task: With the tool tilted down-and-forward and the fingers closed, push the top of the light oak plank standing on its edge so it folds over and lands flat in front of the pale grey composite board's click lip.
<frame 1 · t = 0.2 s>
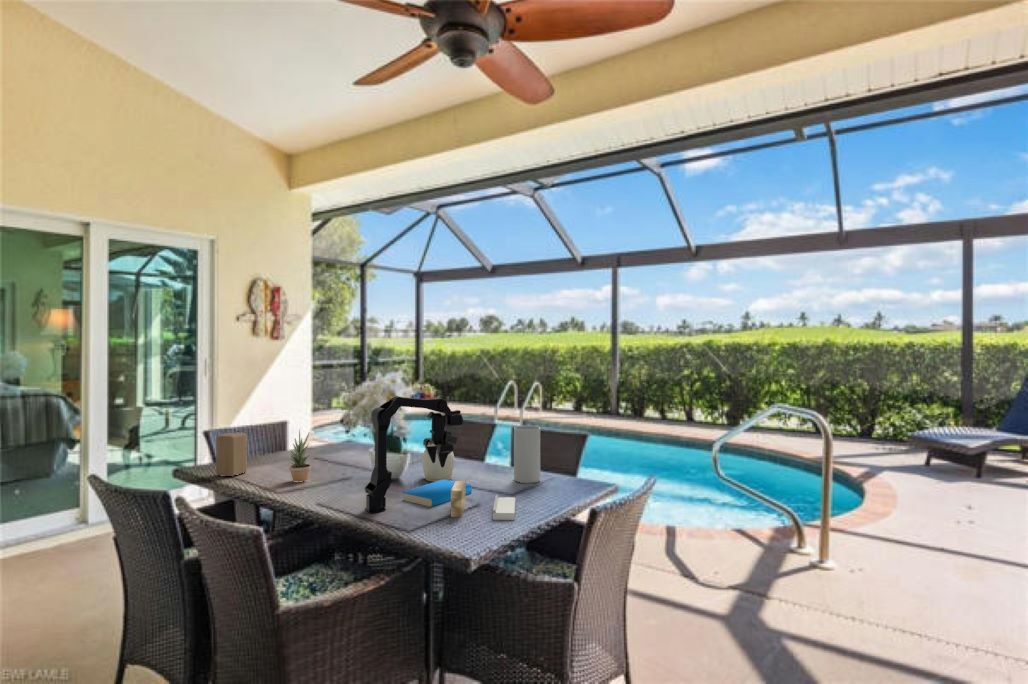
hand: (437, 465, 230), 14 cm above the table, tool pointing down, fingers open, 9 cm apart
oak plank: (458, 511, 214), on the table
jug: (438, 479, 263), on the table
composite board: (504, 511, 214), on the table
book: (437, 497, 234), on the table
cylinder vase: (526, 480, 261), on the table
wooden block: (231, 475, 270), on the table
potted plant: (299, 481, 258), on the table
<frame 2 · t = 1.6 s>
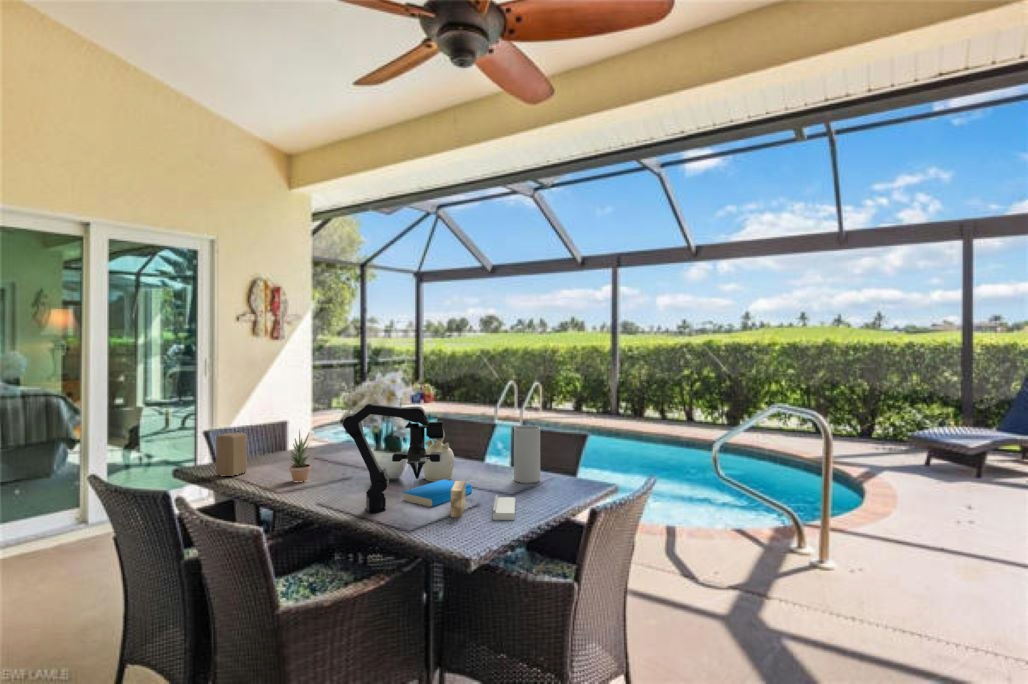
hand: (417, 478, 216), 12 cm above the table, tool pointing down, fingers closed
nothing on the table moved.
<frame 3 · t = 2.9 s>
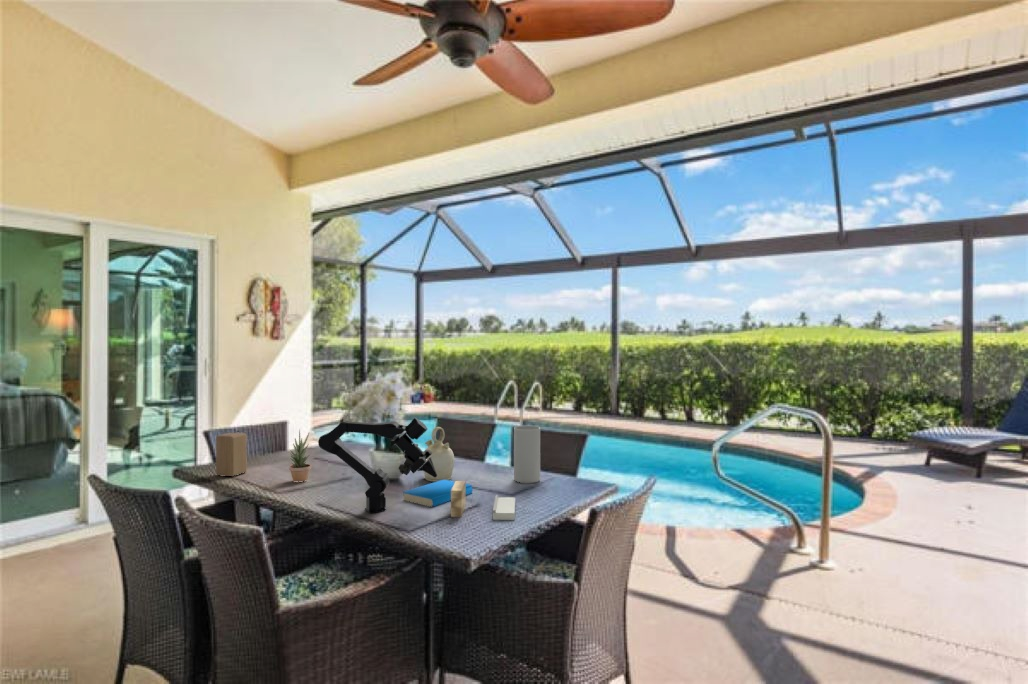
hand: (436, 476, 214), 13 cm above the table, tool tilted 45°, fingers closed
nothing on the table moved.
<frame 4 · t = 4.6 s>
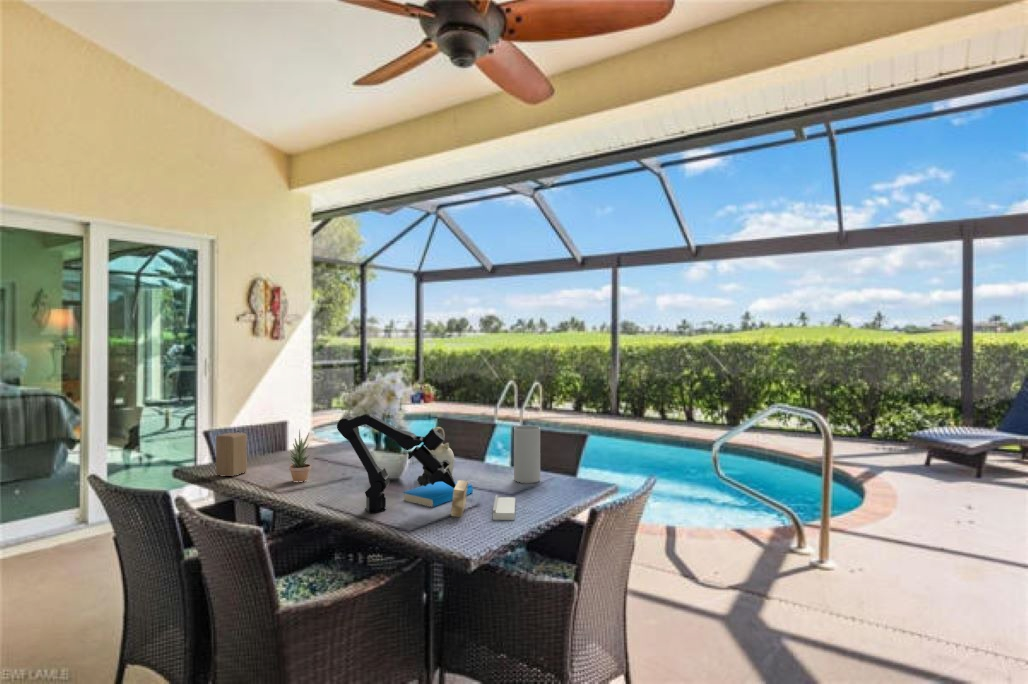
hand: (455, 487, 214), 9 cm above the table, tool tilted 45°, fingers closed
oak plank: (458, 510, 214), on the table, tilted 6°
everything else where it was.
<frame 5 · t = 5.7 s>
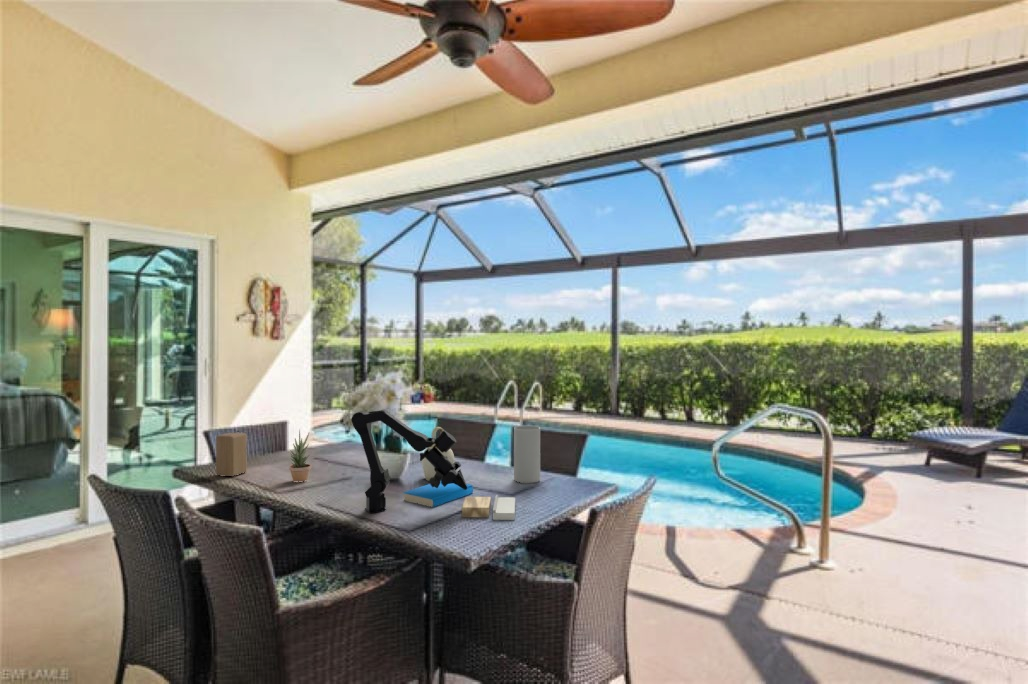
hand: (466, 488, 214), 9 cm above the table, tool tilted 45°, fingers closed
oak plank: (464, 507, 214), point 2 cm above the table, tilted 90°
everything else where it was.
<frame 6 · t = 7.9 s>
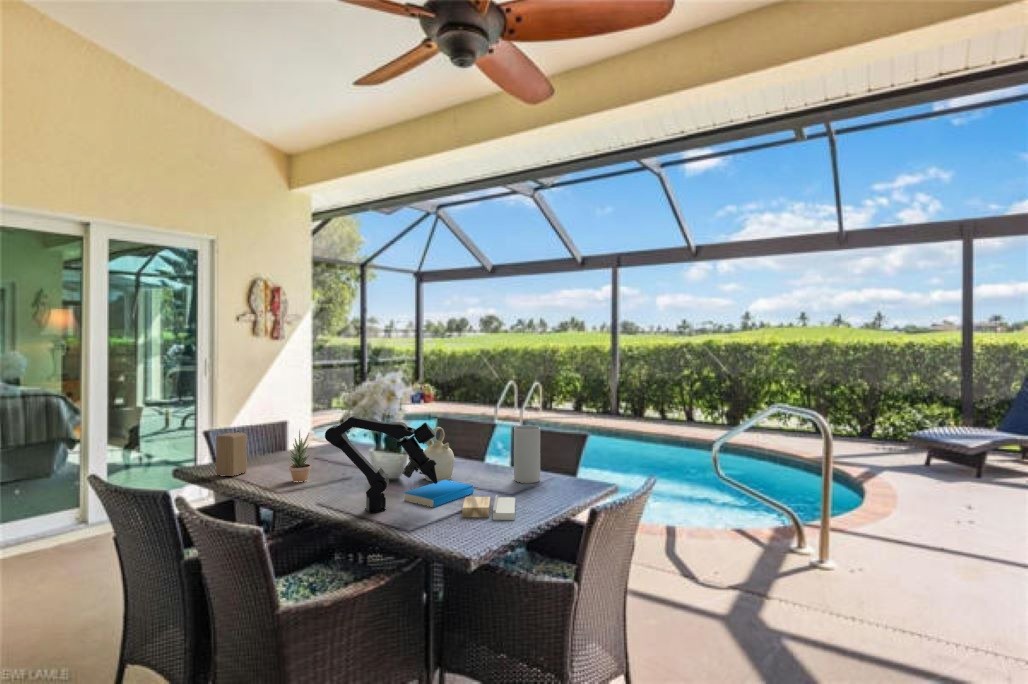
hand: (436, 483, 216), 10 cm above the table, tool tilted 35°, fingers closed
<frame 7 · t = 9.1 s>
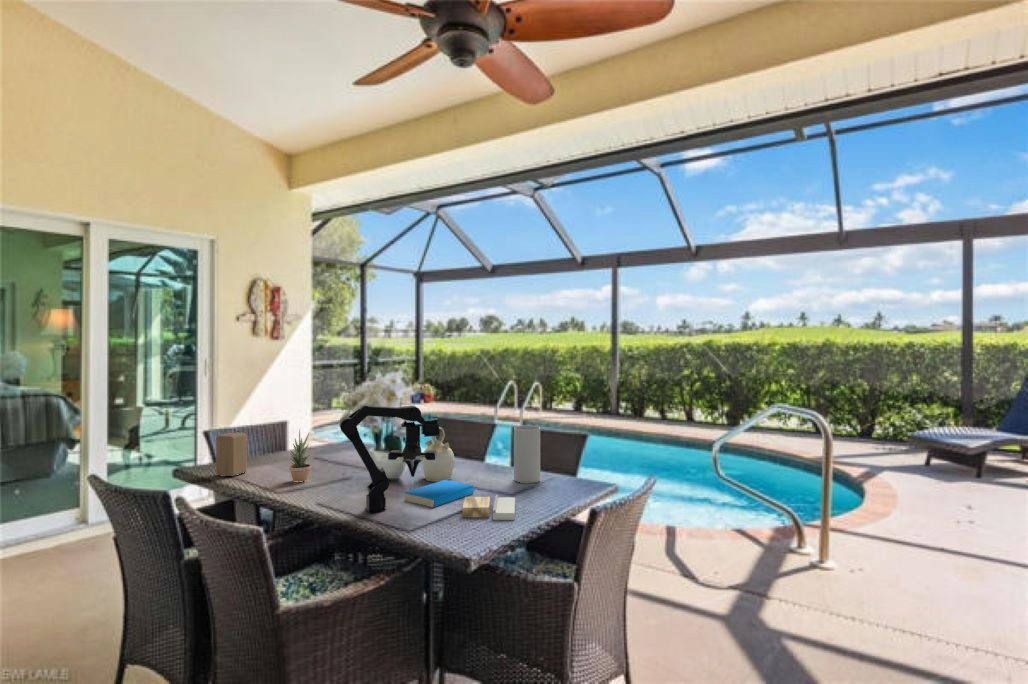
hand: (412, 476, 219), 12 cm above the table, tool pointing down, fingers closed
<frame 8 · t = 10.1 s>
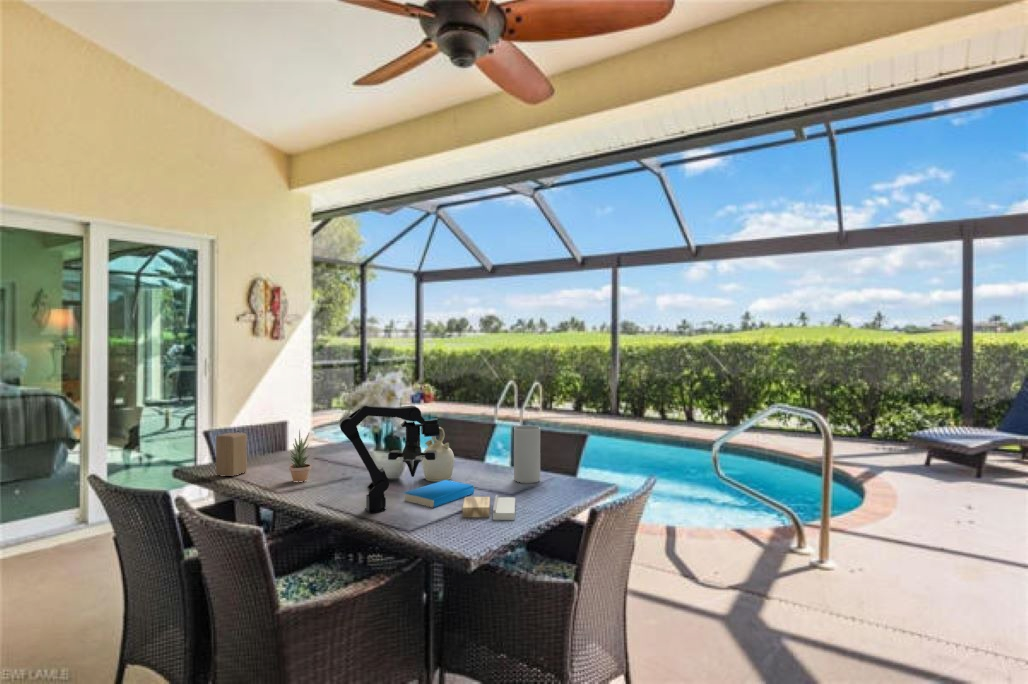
hand: (412, 476, 219), 12 cm above the table, tool pointing down, fingers closed
at the end: oak plank tilted 90°; oak plank inside the target area (1.5 cm from its centre), point 1.6 cm above the table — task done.
